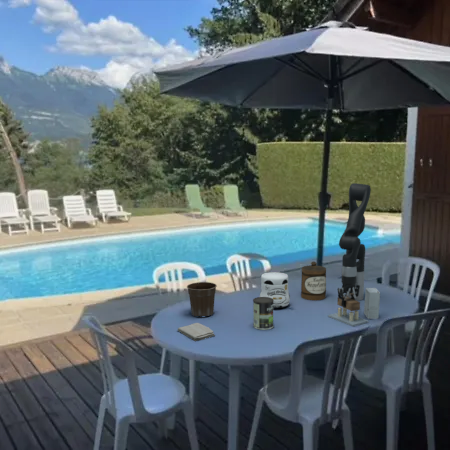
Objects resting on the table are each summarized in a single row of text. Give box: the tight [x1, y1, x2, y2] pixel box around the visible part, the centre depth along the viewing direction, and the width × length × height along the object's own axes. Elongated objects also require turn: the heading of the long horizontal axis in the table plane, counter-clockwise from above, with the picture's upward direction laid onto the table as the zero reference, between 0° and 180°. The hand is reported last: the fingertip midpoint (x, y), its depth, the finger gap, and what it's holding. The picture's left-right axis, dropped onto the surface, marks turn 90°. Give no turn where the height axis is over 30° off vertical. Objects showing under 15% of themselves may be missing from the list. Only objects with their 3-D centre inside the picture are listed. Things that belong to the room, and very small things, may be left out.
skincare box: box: [363, 287, 381, 320], centre depth 261 cm, size 8×6×15 cm
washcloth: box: [177, 322, 216, 342], centre depth 241 cm, size 12×18×3 cm, turn 36°
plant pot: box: [186, 281, 218, 317], centre depth 269 cm, size 16×16×16 cm
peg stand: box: [327, 307, 369, 327], centre depth 258 cm, size 18×11×6 cm, turn 31°
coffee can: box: [252, 296, 274, 331], centre depth 249 cm, size 10×10×14 cm
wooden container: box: [300, 261, 327, 301], centre depth 297 cm, size 15×15×22 cm
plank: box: [337, 296, 361, 312], centre depth 257 cm, size 12×5×4 cm, turn 23°
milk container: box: [259, 271, 291, 309], centre depth 282 cm, size 17×17×18 cm
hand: (348, 305), depth 257 cm, fingers closed on plank, 5 cm apart
